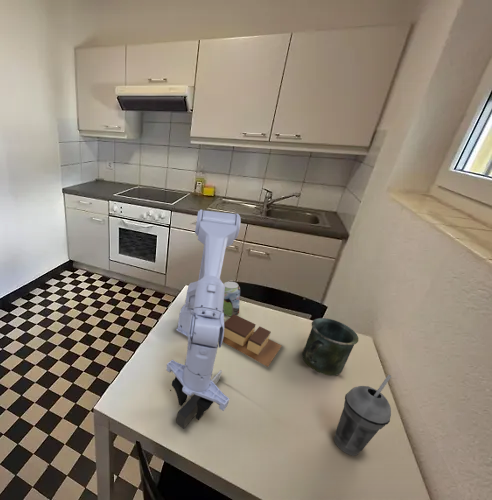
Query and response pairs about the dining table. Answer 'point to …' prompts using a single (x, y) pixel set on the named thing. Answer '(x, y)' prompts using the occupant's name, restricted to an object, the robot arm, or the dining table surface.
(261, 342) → the cake slice
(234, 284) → the beverage can
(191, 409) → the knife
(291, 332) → the dining table surface
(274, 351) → the cake board
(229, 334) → the cake
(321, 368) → the mug
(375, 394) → the beverage cup
